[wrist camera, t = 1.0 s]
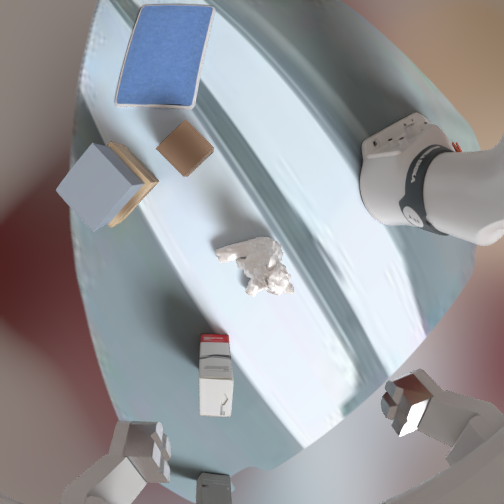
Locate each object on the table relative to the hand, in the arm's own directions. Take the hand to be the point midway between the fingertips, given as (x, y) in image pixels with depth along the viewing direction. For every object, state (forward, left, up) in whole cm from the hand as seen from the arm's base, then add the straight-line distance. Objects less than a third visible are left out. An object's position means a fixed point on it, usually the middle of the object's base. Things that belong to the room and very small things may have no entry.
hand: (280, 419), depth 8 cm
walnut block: (-4, -12, -35) cm, 37 cm away
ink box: (+17, +14, -36) cm, 42 cm away
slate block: (+6, -16, -30) cm, 34 cm away
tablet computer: (-12, -27, -36) cm, 47 cm away
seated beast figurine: (0, +6, -36) cm, 36 cm away
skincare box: (+52, +45, -36) cm, 78 cm away
